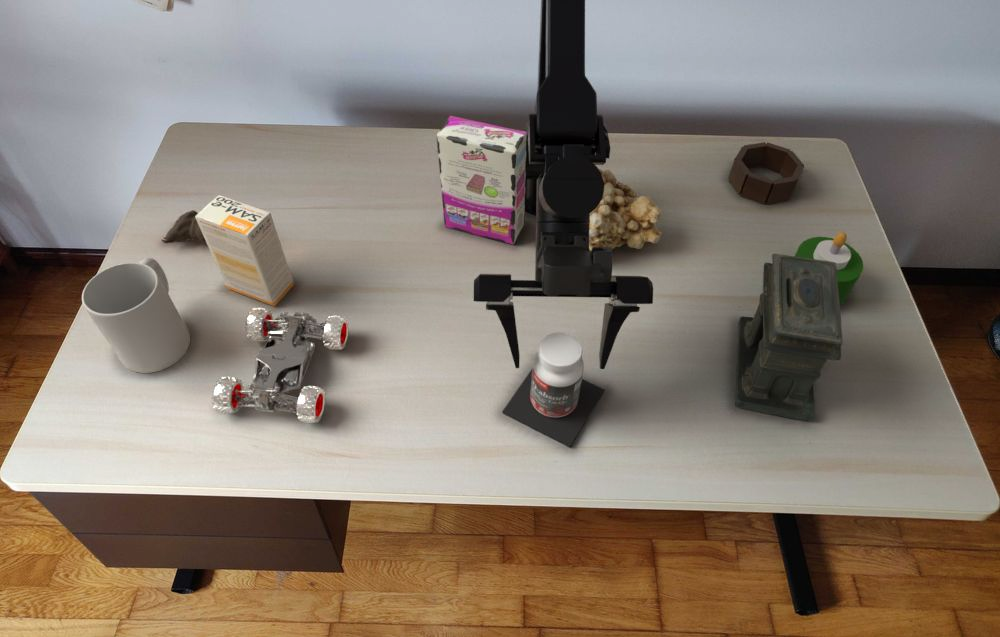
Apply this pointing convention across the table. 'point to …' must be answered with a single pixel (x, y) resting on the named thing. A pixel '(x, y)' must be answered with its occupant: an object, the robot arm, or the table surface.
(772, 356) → the model
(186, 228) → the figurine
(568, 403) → the pill bottle
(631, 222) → the mineral formation
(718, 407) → the table surface
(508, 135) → the candy bar box
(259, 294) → the supplement box
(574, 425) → the rubber mat
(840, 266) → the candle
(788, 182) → the holder ring
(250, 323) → the toy car
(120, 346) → the mug
